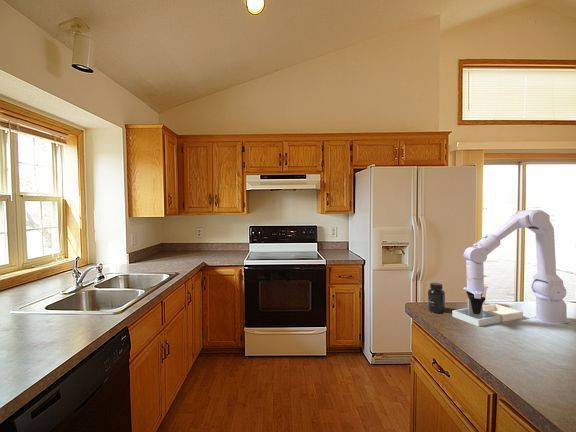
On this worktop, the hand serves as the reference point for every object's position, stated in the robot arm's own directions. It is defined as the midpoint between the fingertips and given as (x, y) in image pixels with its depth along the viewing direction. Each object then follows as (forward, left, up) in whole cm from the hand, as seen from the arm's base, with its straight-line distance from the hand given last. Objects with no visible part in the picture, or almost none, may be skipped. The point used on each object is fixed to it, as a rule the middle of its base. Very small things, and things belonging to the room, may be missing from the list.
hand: (475, 311), depth 115 cm
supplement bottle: (+5, -15, -4) cm, 16 cm away
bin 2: (-12, 0, -3) cm, 13 cm away
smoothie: (-18, -13, -4) cm, 22 cm away
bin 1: (0, 0, -3) cm, 3 cm away
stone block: (0, 0, -2) cm, 2 cm away
